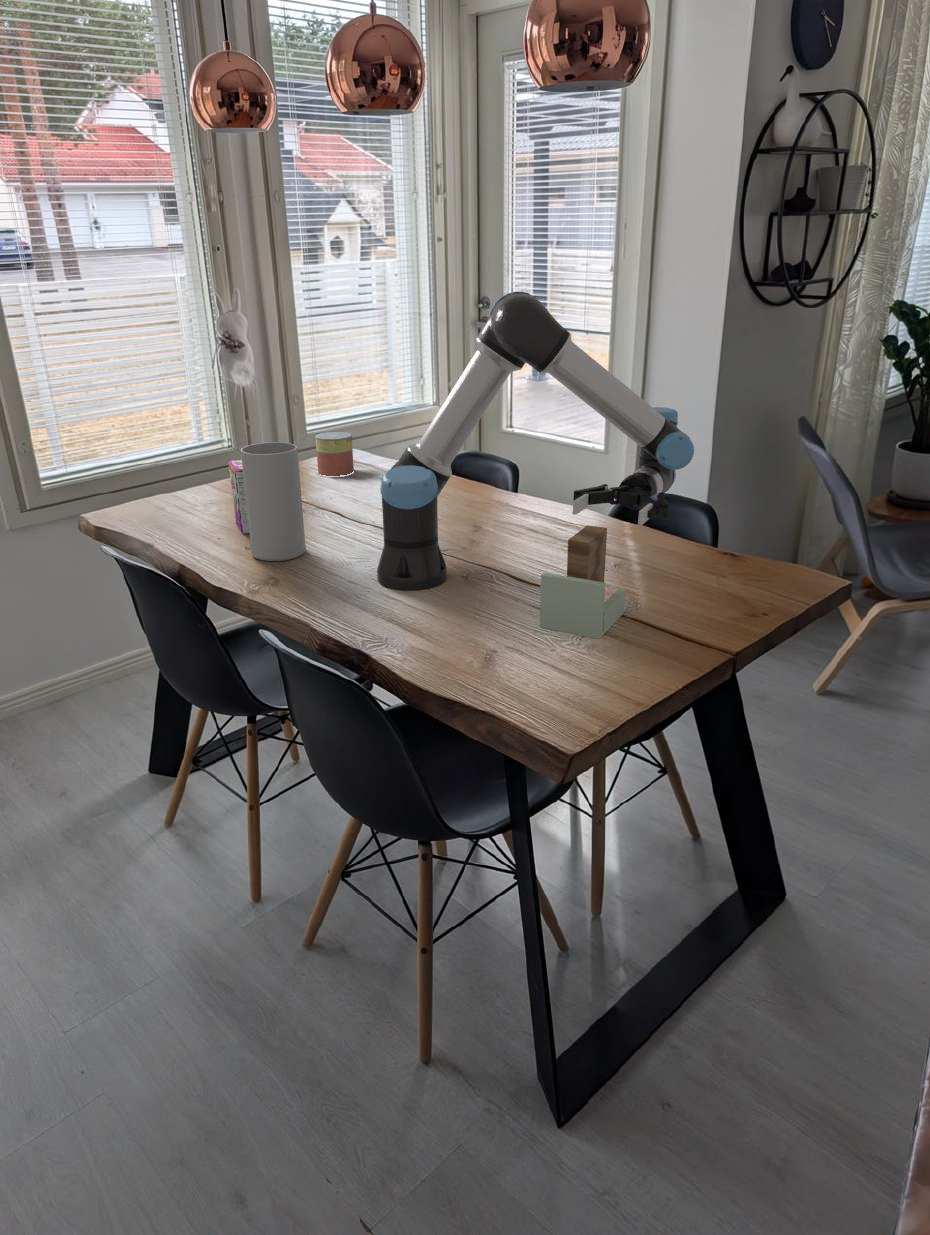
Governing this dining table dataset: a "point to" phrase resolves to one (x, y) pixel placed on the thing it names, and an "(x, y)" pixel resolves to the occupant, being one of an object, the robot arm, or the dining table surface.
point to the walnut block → (587, 554)
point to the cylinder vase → (273, 500)
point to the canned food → (334, 453)
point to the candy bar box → (239, 495)
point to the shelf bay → (578, 605)
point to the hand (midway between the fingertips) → (606, 513)
